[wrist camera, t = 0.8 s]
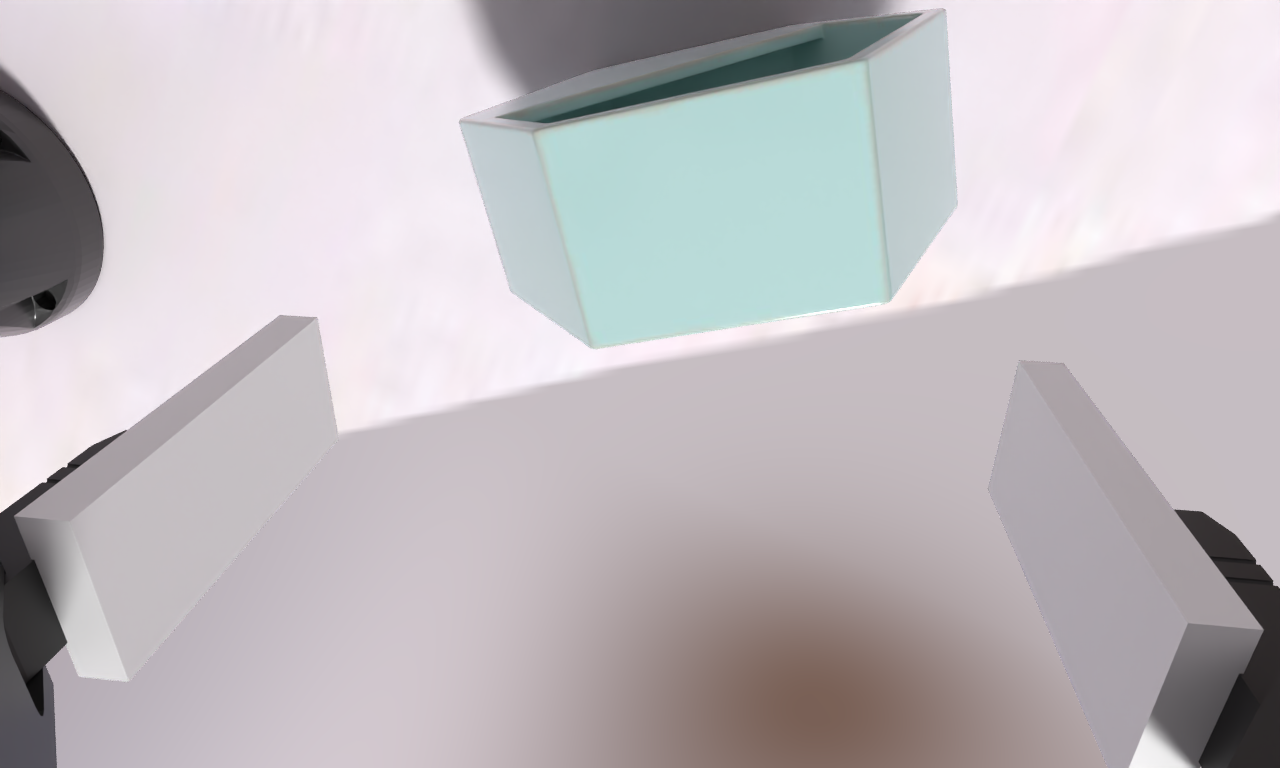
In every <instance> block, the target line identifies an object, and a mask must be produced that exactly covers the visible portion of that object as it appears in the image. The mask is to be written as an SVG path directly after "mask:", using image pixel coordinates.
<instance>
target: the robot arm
mask: <svg viewBox="0 0 1280 768" xmlns="http://www.w3.org/2000/svg"><path fill="white" fill-rule="evenodd" d="M103 248H104V247H103V232H102V226H101V220H100V216H99V212H98V209H97V206H96V203H95V200H94V197H93V195H92V192H91V190H90V188H89V186H88V183H87V181H86V179H85V177H84V176H83V174H82V172H81V170H80V169H79V167H78V165H77V164H76V162H75V160H74V159H73V158H72V156H71V155H70V153H69V152H68V150H67V149H66V148H65V146H64V145H63V144H62V143H61V141H60V140H59V139H58V138H57V137H56V135H55V134H54V133H53V132H52V131H51V130H50V129H49V128H48V127H47V126H46V125H45V124H44V123H43V122H42V121H41V120H40V119H39V118H38V117H37V116H36V115H34V114H33V113H32V112H31V111H30V110H29V109H27V108H26V107H25V106H23V105H22V104H21V103H20V102H18V101H17V100H15V99H14V98H12V97H11V96H9V95H8V94H6V93H5V92H3V91H1V90H0V337H6V336H14V335H20V334H24V333H28V332H31V331H34V330H37V329H39V328H42V327H44V326H46V325H48V324H50V323H52V322H54V321H56V320H57V319H59V318H61V317H63V316H65V315H67V314H69V313H71V312H72V311H74V310H75V309H76V308H78V307H79V306H80V305H81V304H82V303H83V302H84V301H85V300H86V299H87V298H88V296H89V295H90V293H91V292H92V290H93V288H94V287H95V285H96V282H97V280H98V277H99V274H100V271H101V267H102V261H103ZM338 440H339V437H338V431H337V425H336V420H335V414H334V409H333V403H332V397H331V392H330V386H329V381H328V375H327V369H326V364H325V358H324V353H323V347H322V341H321V336H320V330H319V324H318V319H317V317H300V316H284V315H280V316H278V317H277V318H276V319H274V320H273V321H272V322H270V323H269V324H268V325H266V326H265V327H264V328H262V329H261V330H260V331H258V332H257V333H256V334H254V335H253V336H252V337H250V338H249V339H248V340H247V341H245V342H244V343H243V344H241V345H240V346H239V347H237V348H236V349H235V350H233V351H232V352H231V353H229V354H228V355H227V356H225V357H224V358H223V359H221V360H220V361H219V362H217V363H216V364H215V365H213V366H212V367H211V368H209V369H208V370H207V371H205V372H204V373H203V374H201V375H200V376H199V377H197V378H196V379H195V380H194V381H192V382H191V383H190V384H188V385H187V386H186V387H184V388H183V389H182V390H180V391H179V392H178V393H176V394H175V395H174V396H172V397H171V398H170V399H168V400H167V401H166V402H164V403H163V404H162V405H160V406H159V407H158V408H156V409H155V410H154V411H152V412H151V413H150V414H148V415H147V416H146V417H144V418H143V419H142V420H141V421H139V422H138V423H137V424H135V425H134V426H133V427H131V428H130V429H129V430H125V431H123V432H121V433H118V434H116V435H114V436H112V437H110V438H107V439H105V440H103V441H101V442H99V443H96V444H94V445H92V446H91V447H89V448H88V449H87V450H85V451H84V452H83V453H81V454H80V455H79V456H77V457H76V458H75V459H73V460H72V461H70V462H69V463H68V466H67V468H65V467H62V468H61V469H60V470H58V471H57V472H56V473H54V474H53V475H51V476H50V477H49V478H47V482H46V483H41V484H39V485H38V486H37V487H35V488H34V489H32V490H31V491H30V492H28V493H27V494H26V495H24V496H23V497H22V498H20V499H19V500H18V501H16V502H15V503H14V504H12V505H11V506H9V507H8V508H7V509H5V510H4V511H3V512H1V513H0V768H57V762H56V737H55V716H54V715H55V713H54V689H53V682H52V680H51V678H50V675H49V673H48V670H47V668H46V666H45V665H46V664H47V663H48V661H50V659H52V658H53V657H54V656H55V655H56V654H57V653H58V652H59V651H60V650H61V648H63V647H64V646H65V645H66V647H67V649H68V651H69V654H70V656H71V659H72V661H73V663H74V666H75V669H76V671H77V674H78V676H79V677H88V678H97V679H107V680H115V681H124V682H130V681H131V679H132V678H133V677H134V676H135V675H136V674H137V672H138V671H139V670H140V669H141V668H142V667H143V665H144V664H145V663H146V662H147V661H148V660H149V659H150V657H151V656H152V655H153V654H154V653H155V652H156V650H157V649H158V648H159V647H160V646H161V645H162V643H163V642H164V641H165V640H166V639H167V638H168V636H169V635H170V634H171V633H172V632H173V631H174V630H175V628H176V627H177V626H178V625H179V624H180V623H181V621H182V620H183V619H184V618H185V617H186V616H187V615H188V613H189V612H190V611H191V610H192V609H193V608H194V606H195V605H196V604H197V603H198V602H199V601H200V600H201V598H202V597H203V596H204V595H205V594H206V593H207V591H208V590H209V589H210V588H211V587H212V586H213V584H214V583H215V582H216V581H217V580H218V579H219V578H220V576H221V575H222V574H223V573H224V572H225V571H226V569H227V568H228V567H229V566H230V565H231V564H232V562H233V561H234V560H235V559H236V558H237V557H238V556H239V554H240V553H241V552H242V551H243V550H244V549H245V547H246V546H247V545H248V544H249V543H250V542H251V541H252V539H253V538H254V537H255V536H256V535H257V534H258V532H259V531H260V530H261V529H262V528H263V527H264V525H265V524H266V523H267V522H268V521H269V519H271V517H272V516H273V515H274V514H275V513H276V512H277V510H278V509H279V508H280V507H281V506H282V505H283V503H284V502H285V501H286V500H287V499H288V498H289V497H290V495H291V494H292V493H293V492H294V491H295V490H296V488H297V487H298V486H299V485H300V484H301V483H302V482H303V480H304V479H305V478H306V477H307V476H308V475H309V473H310V472H311V471H312V470H313V469H314V468H315V466H316V465H317V464H318V463H319V462H320V461H321V460H322V458H323V457H324V456H325V455H326V454H327V452H328V451H329V450H330V449H331V448H332V447H333V445H334V444H335V443H336V442H337V441H338ZM988 491H989V493H990V495H991V498H992V500H993V502H994V505H995V507H996V509H997V512H998V514H999V516H1000V519H1001V521H1002V523H1003V526H1004V528H1005V530H1006V533H1007V535H1008V537H1009V539H1010V542H1011V544H1012V547H1013V549H1014V551H1015V553H1016V556H1017V558H1018V561H1019V562H1020V565H1021V567H1022V570H1023V572H1024V574H1025V577H1026V579H1027V581H1028V583H1029V586H1030V588H1031V590H1032V593H1033V595H1034V597H1035V600H1036V602H1037V604H1038V607H1039V609H1040V612H1041V614H1042V616H1043V619H1044V621H1045V623H1046V626H1047V628H1048V630H1049V633H1050V635H1051V637H1052V639H1053V642H1054V644H1055V647H1056V649H1057V651H1058V653H1059V656H1060V658H1061V660H1062V663H1063V665H1064V667H1065V670H1066V672H1067V674H1068V676H1069V679H1070V681H1071V684H1072V686H1073V688H1074V691H1075V693H1076V695H1077V697H1078V700H1079V702H1080V705H1081V707H1082V709H1083V711H1084V714H1085V716H1086V718H1087V721H1088V723H1089V726H1090V728H1091V730H1092V732H1093V735H1094V737H1095V739H1096V742H1097V744H1098V746H1099V749H1100V751H1101V753H1102V756H1103V758H1104V760H1105V763H1106V765H1107V767H1108V768H1200V766H1201V767H1202V768H1280V588H1279V587H1278V586H1273V580H1272V579H1271V578H1270V576H1269V575H1268V574H1267V573H1266V571H1265V570H1264V569H1263V568H1262V567H1261V565H1256V559H1255V558H1254V557H1253V556H1252V554H1251V553H1250V552H1249V551H1248V550H1247V548H1246V547H1245V546H1244V545H1243V543H1242V542H1241V541H1240V540H1239V539H1238V537H1237V536H1236V535H1235V534H1234V533H1232V532H1231V531H1229V530H1228V529H1226V528H1225V527H1223V526H1222V525H1221V524H1219V523H1218V522H1216V521H1215V520H1213V519H1212V518H1210V517H1209V516H1208V515H1206V514H1205V513H1203V512H1199V511H1186V510H1174V509H1173V508H1172V507H1171V506H1170V504H1169V503H1168V501H1167V500H1166V499H1165V497H1164V496H1163V495H1162V493H1161V492H1160V491H1159V489H1158V488H1157V487H1156V485H1155V484H1154V483H1153V481H1152V480H1151V479H1150V477H1149V476H1148V475H1147V473H1146V472H1145V471H1144V469H1143V468H1142V467H1141V466H1140V464H1139V463H1138V461H1137V460H1136V459H1135V457H1134V456H1133V455H1132V453H1131V452H1130V451H1129V449H1128V448H1127V447H1126V445H1125V444H1124V443H1123V441H1122V440H1121V439H1120V437H1119V436H1118V435H1117V433H1116V432H1115V431H1114V429H1113V428H1112V427H1111V425H1110V424H1109V423H1108V422H1107V420H1106V419H1105V417H1104V416H1103V415H1102V413H1101V412H1100V411H1099V409H1098V408H1097V407H1096V405H1095V404H1094V403H1093V401H1092V400H1091V399H1090V397H1089V396H1088V395H1087V393H1086V392H1085V391H1084V389H1083V388H1082V387H1081V385H1080V384H1079V383H1078V381H1077V380H1076V379H1075V377H1074V376H1073V375H1072V373H1071V372H1070V371H1069V369H1068V368H1067V367H1066V365H1065V364H1064V363H1053V362H1037V361H1020V360H1019V362H1018V366H1017V370H1016V375H1015V379H1014V383H1013V387H1012V391H1011V395H1010V400H1009V404H1008V408H1007V413H1006V416H1005V420H1004V425H1003V428H1002V433H1001V437H1000V441H999V445H998V450H997V454H996V457H995V462H994V466H993V470H992V474H991V479H990V482H989V486H988Z"/></svg>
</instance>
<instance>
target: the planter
mask: <svg viewBox="0 0 1280 768" xmlns="http://www.w3.org/2000/svg"><path fill="white" fill-rule="evenodd" d="M459 124H460V127H461V131H462V134H463V137H464V141H465V144H466V147H467V150H468V154H469V157H470V160H471V163H472V167H473V170H474V173H475V177H476V180H477V183H478V186H479V190H480V193H481V196H482V200H483V203H484V206H485V209H486V213H487V216H488V219H489V222H490V226H491V229H492V232H493V236H494V239H495V242H496V245H497V249H498V252H499V255H500V259H501V262H502V265H503V268H504V272H505V275H506V278H507V282H508V285H509V288H510V291H511V292H512V293H513V294H514V295H516V296H517V297H518V298H520V299H521V300H523V301H524V302H525V303H527V304H528V305H530V306H531V307H533V308H534V309H535V310H537V311H538V312H540V313H541V314H543V315H544V316H545V317H547V318H548V319H550V320H551V321H553V322H554V323H555V324H557V325H558V326H560V327H561V328H562V329H564V330H565V331H567V332H568V333H570V334H571V335H572V336H574V337H575V338H577V339H578V340H580V341H581V342H582V343H584V344H585V345H587V346H588V347H590V348H592V349H600V348H607V347H613V346H619V345H625V344H632V343H638V342H645V341H651V340H657V339H664V338H670V337H677V336H683V335H690V334H696V333H703V332H709V331H715V330H722V329H728V328H735V327H741V326H748V325H754V324H761V323H767V322H773V321H780V320H786V319H793V318H799V317H806V316H812V315H819V314H825V313H832V312H838V311H844V310H851V309H857V308H864V307H870V306H877V305H882V304H886V303H888V302H890V301H891V300H892V299H893V297H894V296H895V295H896V293H897V292H898V290H899V289H900V287H901V286H902V285H903V283H904V282H905V280H906V279H907V278H908V276H909V275H910V273H911V272H912V270H913V269H914V267H915V266H916V265H917V263H918V262H919V260H920V259H921V257H922V256H923V255H924V253H925V252H926V250H927V249H928V247H929V246H930V245H931V243H932V242H933V240H934V239H935V237H936V236H937V235H938V233H939V232H940V230H941V229H942V227H943V226H944V225H945V223H946V222H947V220H948V219H949V217H950V216H951V215H952V213H953V212H954V210H955V209H956V207H957V205H958V200H957V183H956V166H955V150H954V133H953V116H952V100H951V83H950V66H949V50H948V33H947V16H946V10H945V9H943V8H940V9H930V10H921V11H912V12H903V13H894V14H885V15H876V16H867V17H857V18H848V19H839V20H830V21H821V22H812V23H803V24H794V25H789V26H785V27H781V28H776V29H772V30H767V31H763V32H759V33H754V34H750V35H745V36H741V37H737V38H732V39H728V40H723V41H719V42H715V43H710V44H706V45H701V46H697V47H693V48H688V49H684V50H680V51H675V52H671V53H666V54H662V55H658V56H653V57H649V58H644V59H640V60H636V61H631V62H627V63H622V64H618V65H614V66H609V67H605V68H601V69H596V70H593V71H589V72H586V73H584V74H581V75H578V76H575V77H573V78H570V79H567V80H565V81H562V82H559V83H556V84H554V85H551V86H548V87H546V88H543V89H540V90H537V91H535V92H532V93H529V94H526V95H524V96H521V97H518V98H516V99H513V100H510V101H507V102H505V103H502V104H499V105H497V106H494V107H491V108H488V109H486V110H483V111H480V112H478V113H475V114H472V115H469V116H467V117H464V118H462V119H460V120H459Z"/></svg>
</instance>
